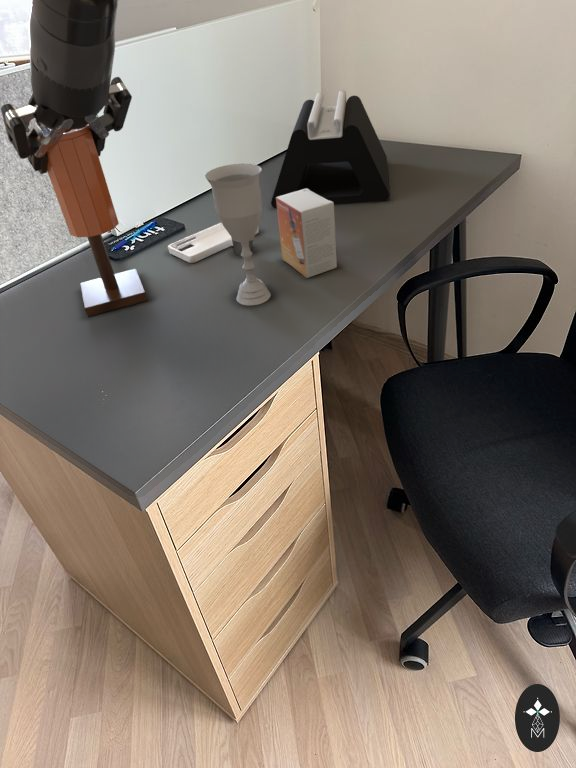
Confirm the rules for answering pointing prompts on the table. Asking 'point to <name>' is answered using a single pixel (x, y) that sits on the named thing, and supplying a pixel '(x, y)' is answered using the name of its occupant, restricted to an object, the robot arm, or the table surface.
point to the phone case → (203, 244)
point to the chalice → (240, 218)
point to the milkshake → (239, 246)
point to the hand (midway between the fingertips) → (66, 158)
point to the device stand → (335, 154)
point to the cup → (80, 184)
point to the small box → (307, 232)
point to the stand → (110, 284)
